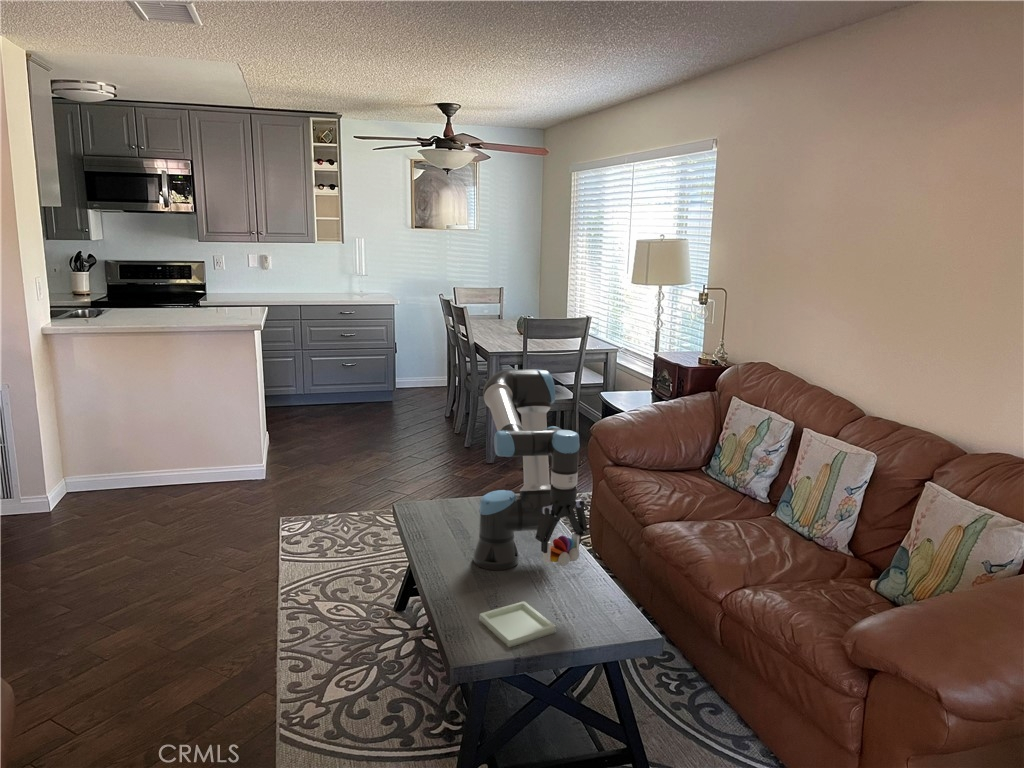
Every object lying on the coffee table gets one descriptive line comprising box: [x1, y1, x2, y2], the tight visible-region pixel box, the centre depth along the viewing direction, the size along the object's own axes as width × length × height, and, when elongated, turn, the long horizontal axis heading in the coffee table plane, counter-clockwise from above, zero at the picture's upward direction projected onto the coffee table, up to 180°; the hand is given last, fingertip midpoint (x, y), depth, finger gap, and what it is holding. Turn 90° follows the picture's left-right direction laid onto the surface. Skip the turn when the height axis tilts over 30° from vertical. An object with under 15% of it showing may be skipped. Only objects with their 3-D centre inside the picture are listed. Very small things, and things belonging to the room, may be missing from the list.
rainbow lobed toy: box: [550, 535, 580, 567], centre depth 209 cm, size 8×10×7 cm
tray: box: [478, 600, 557, 648], centre depth 202 cm, size 16×15×2 cm
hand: (560, 558), depth 210 cm, fingers closed on rainbow lobed toy, 9 cm apart
